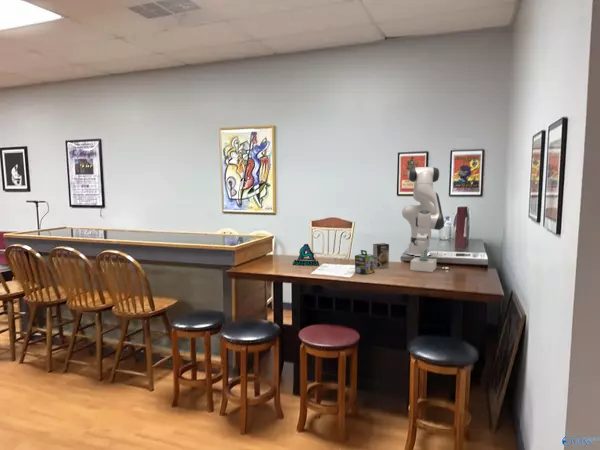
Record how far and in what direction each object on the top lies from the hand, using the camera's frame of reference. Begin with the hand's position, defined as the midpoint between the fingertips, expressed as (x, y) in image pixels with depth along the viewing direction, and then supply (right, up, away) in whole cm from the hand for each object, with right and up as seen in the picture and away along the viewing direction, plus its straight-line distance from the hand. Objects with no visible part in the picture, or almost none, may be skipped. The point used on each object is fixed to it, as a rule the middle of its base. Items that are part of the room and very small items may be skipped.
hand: (423, 256), depth 274 cm
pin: (0, -6, +1) cm, 6 cm away
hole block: (0, -9, +1) cm, 9 cm away
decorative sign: (-78, -8, +18) cm, 80 cm away
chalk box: (-40, -10, -7) cm, 42 cm away
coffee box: (-27, -8, +7) cm, 29 cm away
